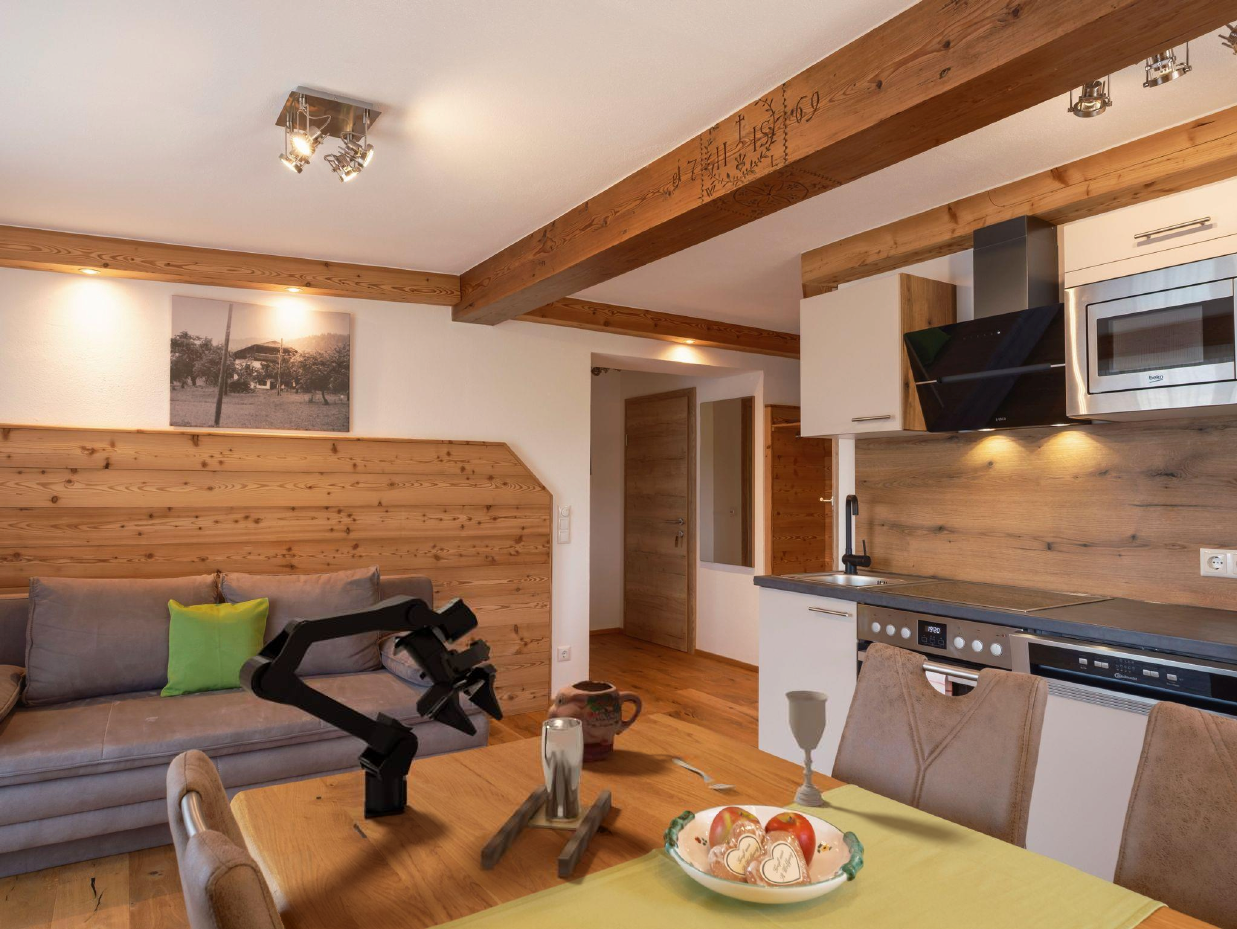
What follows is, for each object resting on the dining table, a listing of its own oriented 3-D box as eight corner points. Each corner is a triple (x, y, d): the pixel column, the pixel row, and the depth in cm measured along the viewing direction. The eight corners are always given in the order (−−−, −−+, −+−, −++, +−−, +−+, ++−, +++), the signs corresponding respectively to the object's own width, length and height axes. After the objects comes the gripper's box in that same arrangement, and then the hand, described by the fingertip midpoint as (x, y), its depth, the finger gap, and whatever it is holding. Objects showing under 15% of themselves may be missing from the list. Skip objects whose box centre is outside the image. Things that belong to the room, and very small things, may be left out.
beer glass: (587, 806, 135) (586, 717, 135) (580, 823, 128) (579, 729, 129) (546, 805, 136) (545, 716, 136) (537, 822, 129) (537, 728, 129)
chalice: (782, 804, 136) (780, 697, 137) (793, 790, 142) (791, 688, 143) (825, 811, 133) (823, 702, 134) (834, 797, 139) (832, 693, 140)
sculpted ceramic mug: (628, 738, 173) (627, 674, 174) (653, 755, 162) (652, 686, 163) (540, 751, 165) (540, 683, 166) (559, 770, 154) (559, 697, 155)
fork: (673, 755, 163) (672, 746, 163) (738, 795, 141) (738, 785, 142) (659, 757, 162) (658, 748, 162) (723, 798, 140) (723, 788, 140)
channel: (568, 877, 111) (568, 859, 111) (481, 868, 114) (481, 851, 114) (611, 805, 136) (611, 790, 137) (538, 799, 139) (538, 785, 139)
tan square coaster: (584, 831, 126) (584, 828, 126) (527, 826, 128) (527, 823, 128) (598, 809, 135) (598, 806, 135) (544, 804, 137) (544, 802, 137)
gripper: (431, 636, 130) (491, 710, 126) (487, 618, 148) (541, 682, 144) (390, 681, 133) (448, 755, 129) (450, 658, 150) (503, 723, 146)
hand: (488, 726), depth 137 cm, fingers open, 9 cm apart
